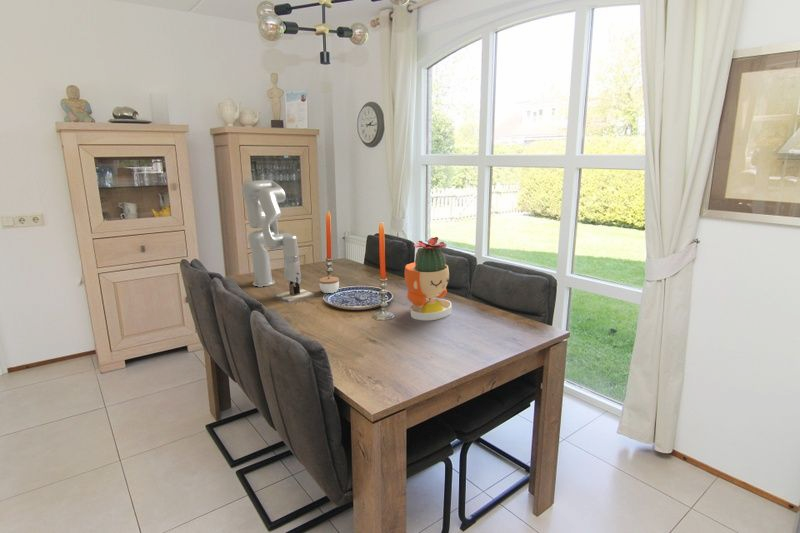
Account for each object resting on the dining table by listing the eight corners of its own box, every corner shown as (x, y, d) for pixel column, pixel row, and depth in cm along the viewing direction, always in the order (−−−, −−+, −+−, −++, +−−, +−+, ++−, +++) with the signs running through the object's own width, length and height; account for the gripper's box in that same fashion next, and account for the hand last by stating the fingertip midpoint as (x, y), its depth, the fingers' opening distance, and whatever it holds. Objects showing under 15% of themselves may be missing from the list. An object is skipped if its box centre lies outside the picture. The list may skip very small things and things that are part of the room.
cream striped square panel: (271, 296, 244) (271, 295, 244) (301, 289, 255) (301, 288, 255) (288, 304, 231) (288, 303, 230) (318, 295, 242) (318, 295, 242)
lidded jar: (341, 289, 251) (340, 273, 249) (337, 296, 241) (336, 278, 238) (322, 289, 252) (321, 273, 250) (317, 296, 242) (316, 279, 240)
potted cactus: (460, 309, 214) (459, 236, 205) (429, 324, 198) (428, 245, 189) (424, 300, 228) (423, 231, 219) (393, 313, 212) (390, 239, 204)
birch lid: (275, 295, 243) (274, 285, 242) (300, 289, 253) (299, 279, 252) (289, 302, 232) (288, 291, 231) (314, 295, 242) (313, 284, 241)
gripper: (277, 257, 241) (280, 290, 246) (293, 262, 229) (296, 297, 234) (290, 255, 246) (293, 287, 251) (306, 260, 234) (309, 294, 239)
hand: (294, 292), depth 242 cm, fingers closed on birch lid, 4 cm apart
